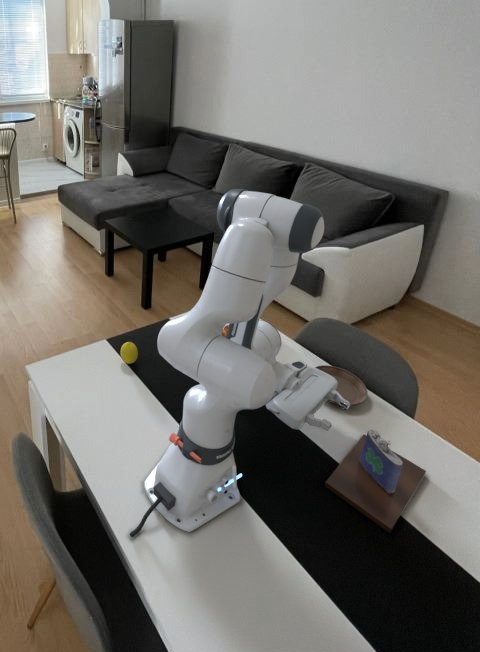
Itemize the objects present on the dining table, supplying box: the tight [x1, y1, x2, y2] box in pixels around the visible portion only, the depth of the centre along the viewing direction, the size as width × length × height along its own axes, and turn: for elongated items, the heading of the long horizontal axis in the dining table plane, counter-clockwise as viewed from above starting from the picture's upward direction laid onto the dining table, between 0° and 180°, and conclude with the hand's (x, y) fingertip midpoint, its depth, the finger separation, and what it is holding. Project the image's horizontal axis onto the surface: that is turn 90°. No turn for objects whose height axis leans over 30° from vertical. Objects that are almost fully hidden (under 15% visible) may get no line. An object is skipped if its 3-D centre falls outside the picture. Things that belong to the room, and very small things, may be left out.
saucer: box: [314, 364, 369, 406], centre depth 122 cm, size 15×15×3 cm
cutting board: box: [324, 433, 427, 534], centre depth 97 cm, size 20×13×2 cm, turn 127°
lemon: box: [120, 341, 139, 365], centre depth 137 cm, size 6×6×8 cm
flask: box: [360, 429, 403, 494], centre depth 96 cm, size 9×3×11 cm, turn 6°
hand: (339, 417), depth 101 cm, fingers open, 8 cm apart
